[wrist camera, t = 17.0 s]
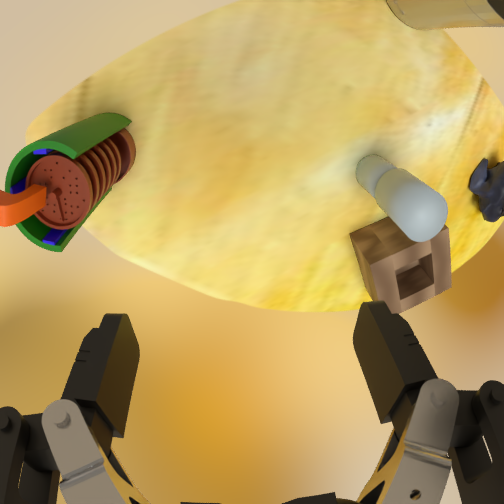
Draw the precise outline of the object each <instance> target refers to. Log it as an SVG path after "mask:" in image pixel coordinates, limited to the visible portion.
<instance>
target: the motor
mask: <svg viewBox="0 0 504 504" xmlns="http://www.w3.org/2000/svg"><path fill="white" fill-rule="evenodd" d="M131 122H132V121H131V120H129V119H128V118H126V117H124V116H122V115H119V114H116V113H102V114H98V115H95V116H93V117H90V118H88V119H85V120H83V121H80V122H78V123H75V124H73V125H71V126H68V127H66V128H64V129H61V130H59V131H57V132H55V133H52V134H50V135H48V136H46V137H44V138H42V139H40V140H37V141H35V142H33V143H31V144H29V145H28V146H26V147H24V148H23V149H22V150H21V151H20V152H19V153H18V154H17V155H16V156H15V157H14V159H13V160H12V162H11V164H10V166H9V169H8V172H7V176H6V182H5V192H4V191H2V190H0V226H3V227H7V226H12V225H14V224H16V226H17V227H18V228H19V230H20V231H21V232H22V233H23V234H24V235H25V236H26V237H27V238H28V239H29V240H30V241H31V242H33V243H34V244H36V245H38V246H39V247H42V248H44V249H47V250H50V251H55V252H62V251H63V249H64V248H65V247H66V245H67V244H68V243H69V241H70V240H71V239H72V237H73V236H74V235H75V233H76V232H77V231H78V229H79V228H80V227H81V226H82V224H83V223H84V222H85V221H86V219H87V218H88V217H89V216H90V214H91V213H92V212H93V211H94V210H95V208H96V207H97V206H98V205H99V204H100V202H101V201H102V200H103V199H104V198H105V196H106V195H107V194H108V193H109V192H110V191H111V189H112V187H111V186H112V185H113V184H115V183H117V182H118V181H120V180H121V179H122V178H123V177H124V176H125V175H126V174H127V172H128V171H129V170H130V169H131V167H132V165H133V163H134V160H135V155H136V148H135V143H134V140H133V138H132V136H131V135H130V133H129V132H128V131H127V130H126V129H125V127H126V126H128V125H129V124H130V123H131Z"/></svg>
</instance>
